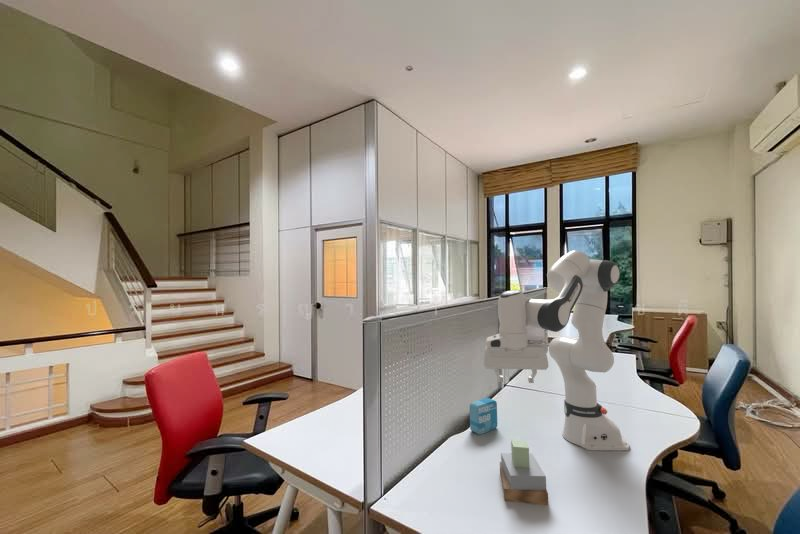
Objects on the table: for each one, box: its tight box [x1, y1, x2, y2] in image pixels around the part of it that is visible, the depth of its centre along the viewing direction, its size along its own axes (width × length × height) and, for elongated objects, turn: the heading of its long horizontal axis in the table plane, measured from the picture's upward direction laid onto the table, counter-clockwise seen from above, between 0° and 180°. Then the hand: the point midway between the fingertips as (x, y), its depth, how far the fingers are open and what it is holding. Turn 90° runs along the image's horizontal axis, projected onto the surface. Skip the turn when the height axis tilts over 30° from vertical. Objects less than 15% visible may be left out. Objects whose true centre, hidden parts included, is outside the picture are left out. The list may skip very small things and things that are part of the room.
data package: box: [469, 397, 498, 435], centre depth 139 cm, size 12×4×12 cm, turn 122°
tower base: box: [499, 461, 549, 506], centre depth 101 cm, size 12×14×4 cm
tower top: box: [500, 452, 547, 490], centre depth 100 cm, size 10×12×4 cm
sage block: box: [510, 439, 530, 468], centre depth 101 cm, size 4×4×6 cm
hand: (515, 382), depth 107 cm, fingers open, 8 cm apart
